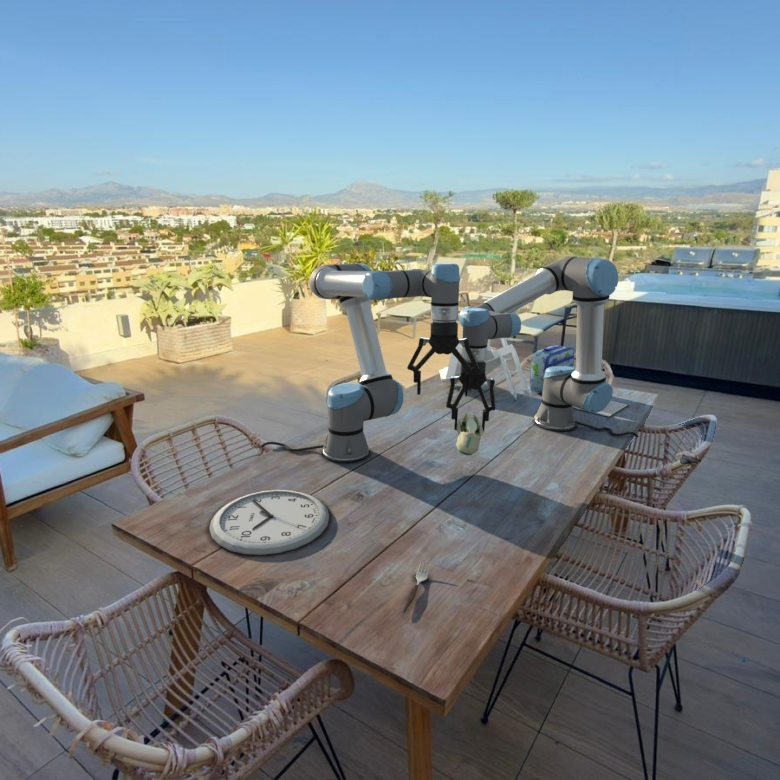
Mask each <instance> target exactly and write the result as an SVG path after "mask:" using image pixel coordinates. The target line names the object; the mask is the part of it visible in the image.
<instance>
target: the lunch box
mask: <svg viewBox="0 0 780 780" xmlns="http://www.w3.org/2000/svg"><path fill="white" fill-rule="evenodd" d="M574 363H575V348H573V347H571V346H570V347H568V346H563V345H551V346H548V347H544V348H543V349H539V350H536V351H535V352H534V354H533V356H532V358H531V363H530V374H529V391H532V392H536V393H540V394H542V391H543V379H544V375H545V370H546V369H547V368H549V367H555V366H569V367H574Z"/></svg>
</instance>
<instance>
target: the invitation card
mask: <svg viewBox="0 0 780 780" xmlns="http://www.w3.org/2000/svg"><path fill="white" fill-rule="evenodd" d="M628 406H629V404H627V403H623V402H618V401H614V400H610V402H609V404H608V405H607V406H606V407H605V408H604V409H603V410H602V411H600V412H597V413H595V414H596V415H600V416H604V417H608V418H609V417H611V416H613V415H614V414H616V413H617V412H619V411H621V410H623V409H624V408H626V407H628ZM573 409H575V410H581V411H584V410H583V409H580V408H577V407H575V406H573Z"/></svg>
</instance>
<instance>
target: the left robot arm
mask: <svg viewBox="0 0 780 780" xmlns="http://www.w3.org/2000/svg"><path fill="white" fill-rule="evenodd" d="M460 282H461V277H460V266H459V264H457V263H453V262H451V263H448V262H438V263H437V262H436V263H433V264H432V265H431V269H422V268H411V269H401V270H399V269H398V270H373V269H372V268H371V267H370V266H369V265H367V264H365V263H358V262H357V263H356V262H352V263H335V264H334V263H333V264H332V263H329V264H328V263H327V264H323V265H320V266H318V267H316V268H315V269H314V270H313V271H312V273H311V274H310V277H309V288H310V290H311V292H312V293H313V294H314V295H315V296H316V297H318V298H320V299H323V300H338V302H339V306H340V307H341V308H342V309H344V310H345V312H346V316H347V321H348V324H349V328H350V333H351V337H352V342H353V345H354V350H355V354H356V358H357V362H358V365H359V366H358V367H359V371H360V375H361V378H360V380H359V381H358V382H353V381H351V382H343V383H339V384H336V385H334V386H332V387H331V388H329V391H328V392H327V401H326V405H327V427H328V428H327V430H328V431H327V435H326V438H325V440H324V444H320V445H314V446H307V447H301V448H290V447H289V445H287V444H286V443H282V442H279V441H278V442H277V441H266V442H264V443H262V444H261V445H260V446H259V447H260V448H264V447H265V446H269V445H274V446H275V445H276V446H280V447H284V448H285V449H286V450H287V451H290V452H295V453H296V452H297V453H298V452H304V451H309V450H310V451H311V450H316V449H322V448H323V449H322V455H323V457H324V458H325V459H327V460H329V461H332V462H336V463H344V464H345V463H355V462H359V461H362V460H364V459H366V458H367V457H368V456H369V453H370V452H369V451H370V449H369V445H368V442H367V438H366V436H365V432H364V422H367V421H371V420H372V421H373V420H376V419H380V418H381V419H382V418H386V417H389V416H393V415H395V414H397V413H399V412H400V410H401V409H402V406H403V404H404V397H405V396H404V390H403V386H402V385H401V384H400V382H399V381H398V380H395V379H393V375H392V374H391V372H389V371H387V368H386V364H385V360H384V357H383V352H382V348H381V343H380V339H379V336H378V332H377V327H376V323H375V319H374V315H373V310H372V307H371V303H372V302H373V301H374V300H375V301H384V300H389V299H403V298H404V299H405V298H417V297H418V298H419V297H423V298H424V297H425V298H430V299H431V300H430V320H431V322H430V335H429V338H428V337H427V338H426V337H424V336H420V337H419V340H418V346H417V348H416V349H415V351H414V353H413V355H412V357H411V359H410V361H409V363H408V365H407V367H406V368H407V370H408V371H411V372H413V383H415V384H417V385H416V395H417V396H418V395H421V389H422V387H421V386H422V371H421V370H420V369H421V368H422V367H423V366H424V365H425V364H426V362H428V360H429V359H430V358H431V357H432V356H433V355H434V354H435V353H436V354H437V355H451V353H452V354H453V355H454V356H455V357H456V358H457V359H458V360H459V362H460V363H461V364H462V365H463V367H464V368H465V369H466V370H467V371H468V372H466V381H465V392H464V397H468V395H469V390H468V384H469V385H472V379H473V373H474V372H478V371H479V366H478V364H477V362H476V359H475V357H474V355H473V353H472V351H471V349H470V347H469V340H468V338H465V339H463V338H459V334H458V333H459V323H458V321H457V320H459V308H460V307H459V306H460V304H459V301H460V300H459V299H460ZM459 343H460V344H461V345H462V346H463V347H465V350H466V352H467V354H468V356H469V358H470V361H471V363H472V365H473V368H471V366H470V365H469V364H468V363H467V362H466V360H465V359H464V358H463V357H462V355H461V354H460V353H459V352H458V350H457V349H456V347H457V345H458V344H459ZM427 344H429V346H430V347H431V348H430V349H429V350H428V352H427V353H426V354H425V355H424V356H423V357H422V358H421V360H419V362H418V363H417V364H416V365H415V362H416V360H417V359H418V357H419V355H420V353H421V351H422V349H423V347H424V346H426V345H427Z"/></svg>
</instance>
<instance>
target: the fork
mask: <svg viewBox="0 0 780 780" xmlns="http://www.w3.org/2000/svg"><path fill="white" fill-rule="evenodd" d="M422 561H423V560H422V559H421V560H420V564H419V566H418V570H417V572H416V575H415V579H416V581H417V583H416V584H415V585H414V587H413V588H412V589H411V591H410V592H409V594H408V597H407V600H406V603H405V605H404V610H403V611H402V613H403V614H405V613H406V612H407V610H408V608H409V606H410V604H411V603H412V602H413V600H414V599H415V597H416V595H417V591H418V588H419V584H420V583H422V582H425V581H427V579H428V578H429V575H430V569H431V565H432V562H430V563H429V561H427V562H426V560H424V562H423V564H422ZM425 562H426V563H425ZM428 563H429V564H428ZM425 564H426V565H425ZM428 565H429V566H428ZM421 566H422V567H421Z"/></svg>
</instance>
